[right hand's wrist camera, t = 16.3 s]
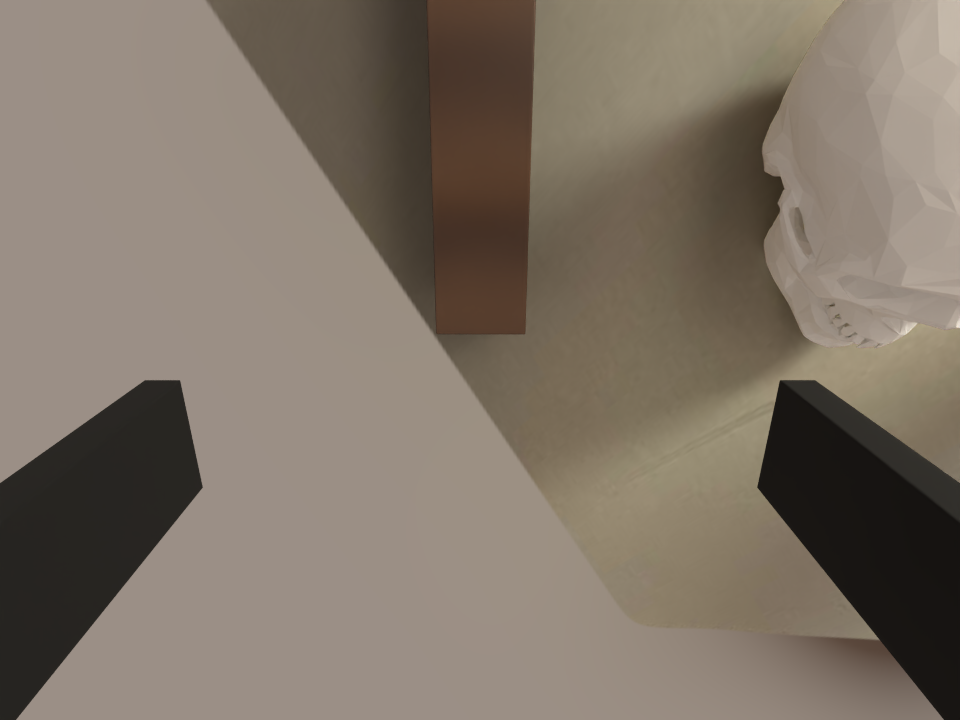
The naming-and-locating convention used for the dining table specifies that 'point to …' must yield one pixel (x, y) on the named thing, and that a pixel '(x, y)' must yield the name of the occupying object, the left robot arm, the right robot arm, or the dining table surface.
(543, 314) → the dining table surface
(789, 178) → the skull
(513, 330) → the walnut plank
